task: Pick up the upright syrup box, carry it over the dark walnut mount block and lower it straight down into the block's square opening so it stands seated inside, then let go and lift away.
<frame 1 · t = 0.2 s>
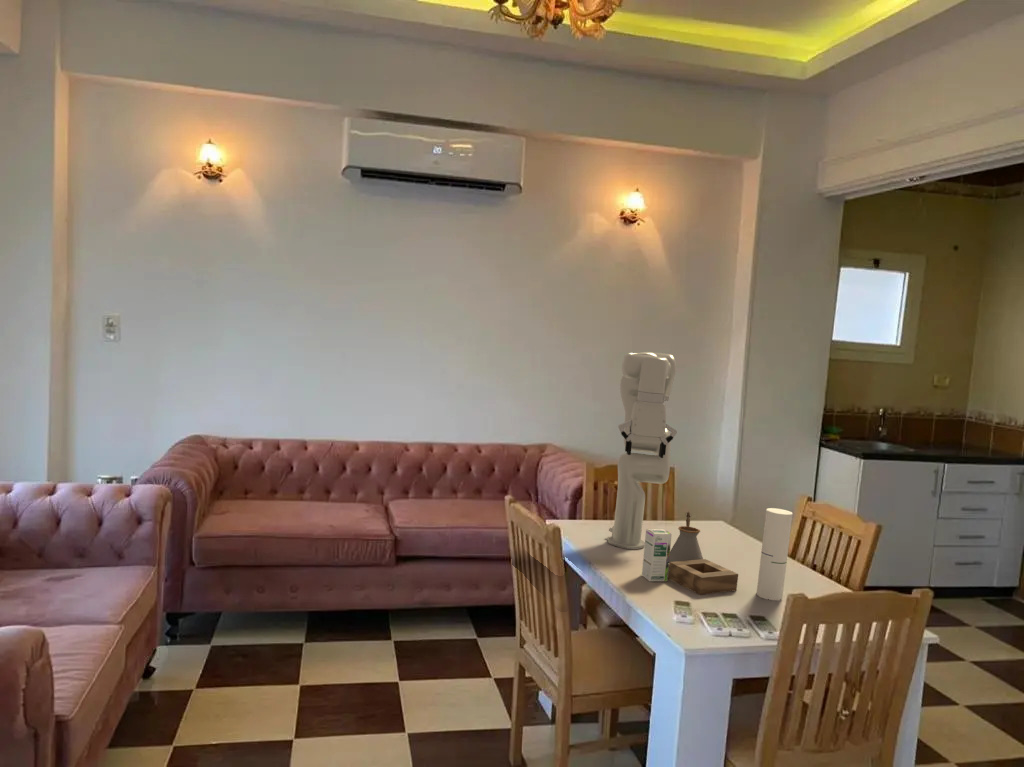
hand: (644, 455, 225), 36 cm above the table, tool pointing down, fingers open, 9 cm apart
mount block: (701, 584, 224), on the table
syrup box: (653, 579, 226), on the table
cylindrical container: (769, 596, 219), on the table
coffee pot: (684, 565, 243), on the table
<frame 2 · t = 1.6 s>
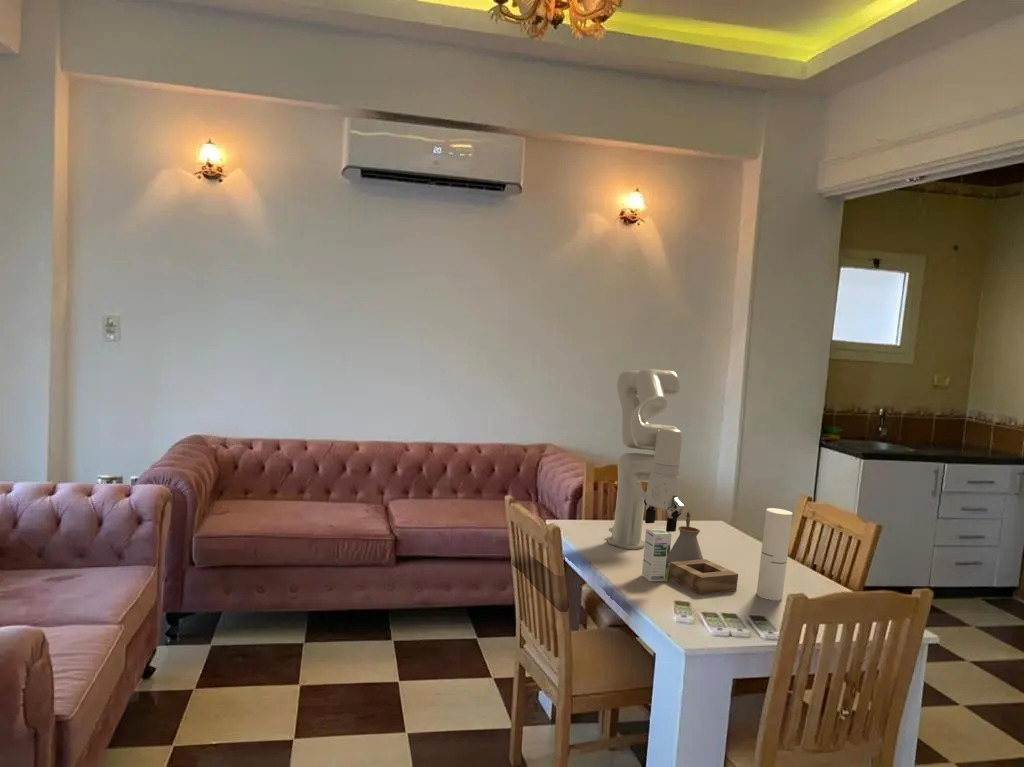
hand: (660, 527, 224), 16 cm above the table, tool pointing down, fingers open, 9 cm apart
nothing on the table moved.
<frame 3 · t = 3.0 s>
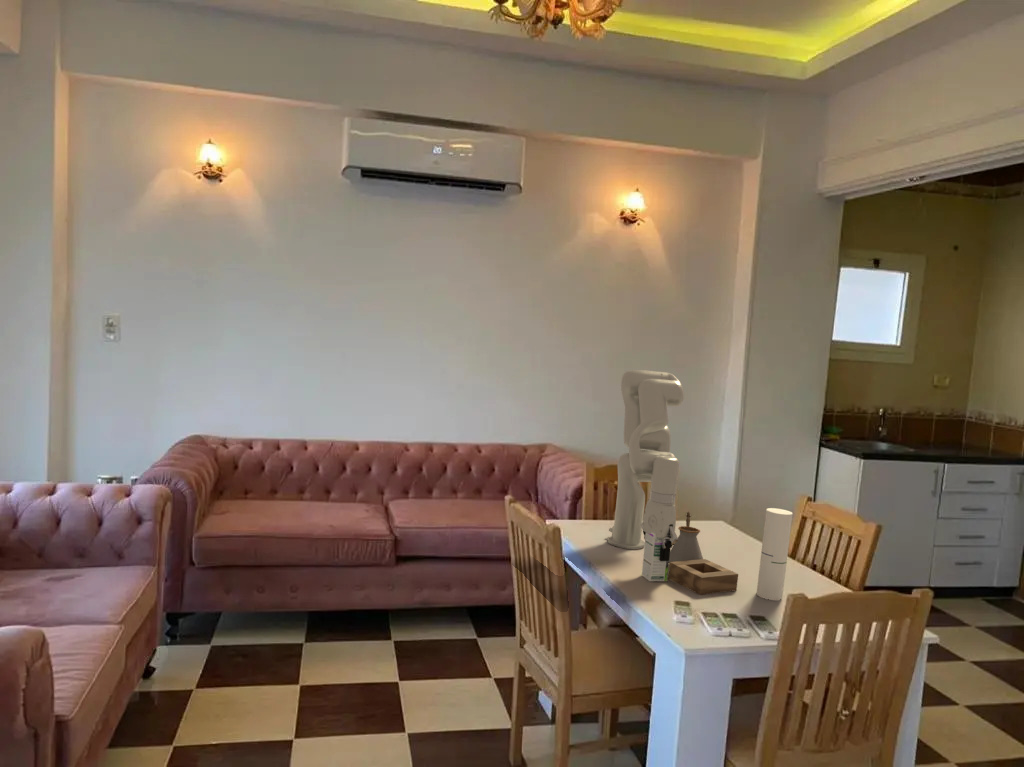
hand: (656, 556, 225), 7 cm above the table, tool pointing down, fingers closed on syrup box, 6 cm apart
syrup box: (653, 579, 226), on the table, touching gripper
everything else where it was.
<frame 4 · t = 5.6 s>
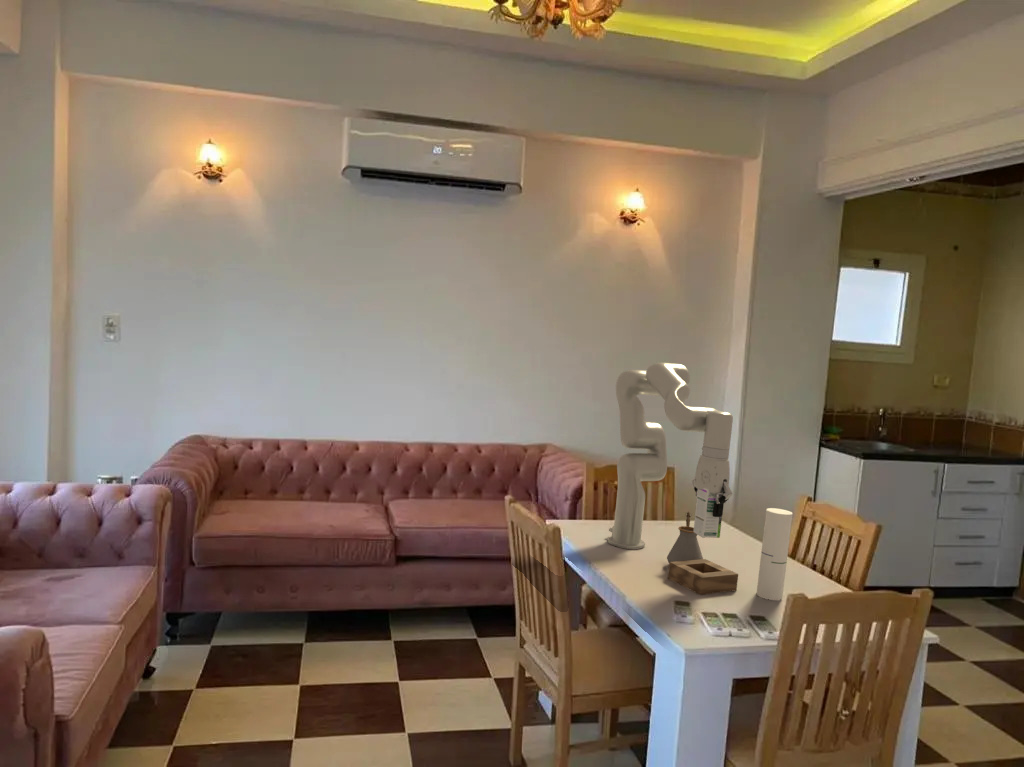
hand: (708, 512, 223), 22 cm above the table, tool pointing down, fingers closed on syrup box, 6 cm apart
syrup box: (706, 535, 223), point 15 cm above the table, touching gripper
everything else where it was.
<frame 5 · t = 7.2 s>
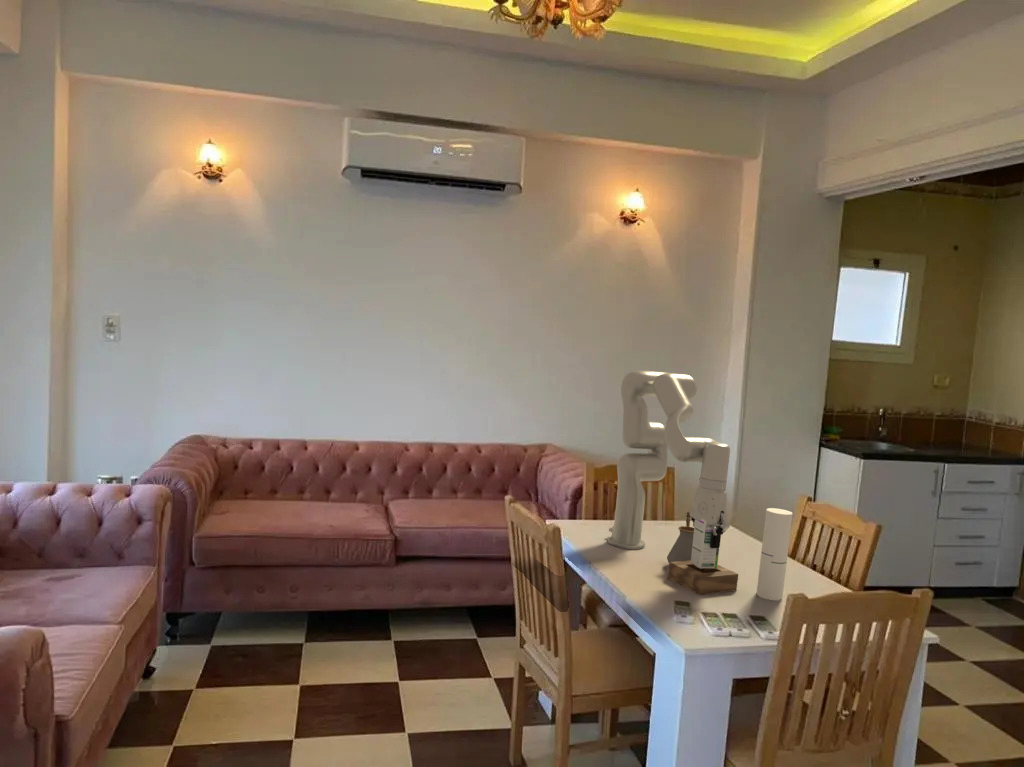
hand: (706, 543, 223), 12 cm above the table, tool pointing down, fingers closed on syrup box, 6 cm apart
syrup box: (703, 566, 224), point 5 cm above the table, touching gripper
everything else where it was.
when the fingers open (9 cm above the table, at t = 8.3 s): syrup box drops 1 cm, resting on mount block.
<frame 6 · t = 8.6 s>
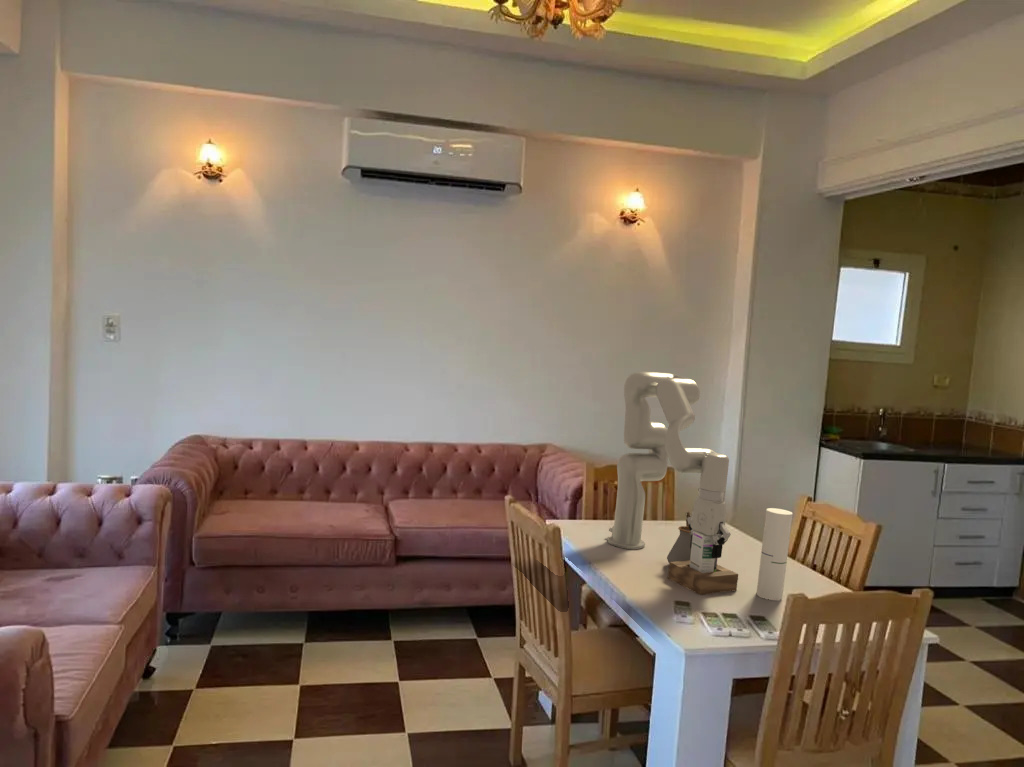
hand: (705, 552, 223), 10 cm above the table, tool pointing down, fingers open, 8 cm apart
syrup box: (701, 581, 224), point 1 cm above the table, touching mount block
everything else where it was.
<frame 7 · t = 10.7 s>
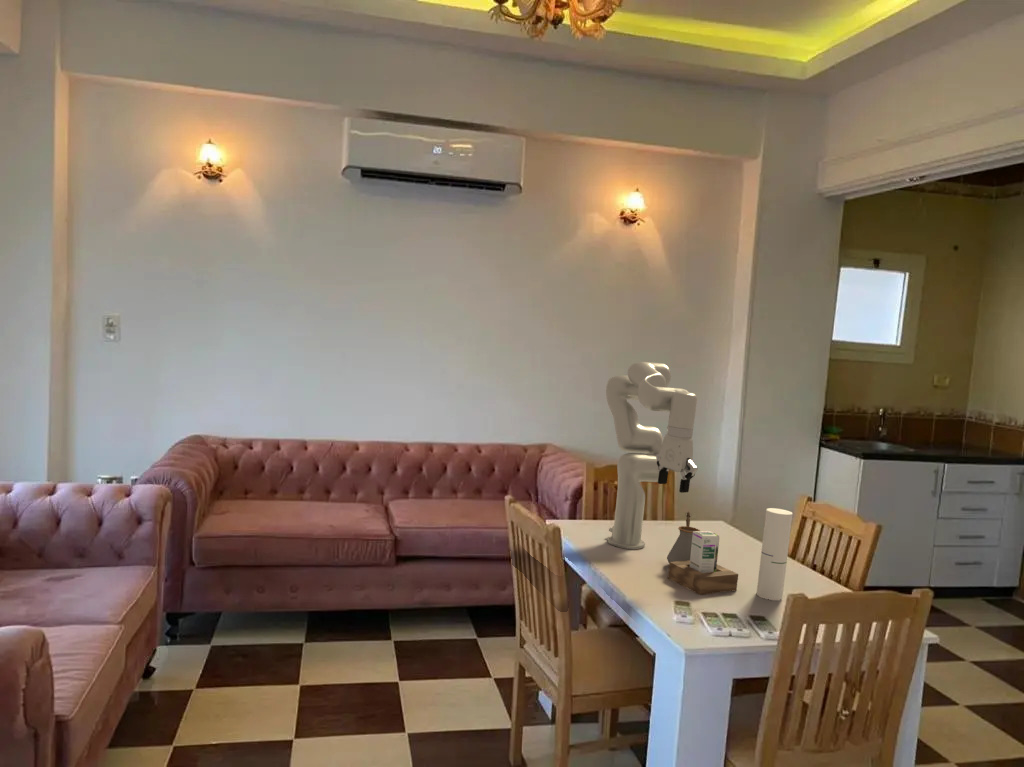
hand: (672, 487, 230), 26 cm above the table, tool pointing down, fingers open, 9 cm apart
nothing on the table moved.
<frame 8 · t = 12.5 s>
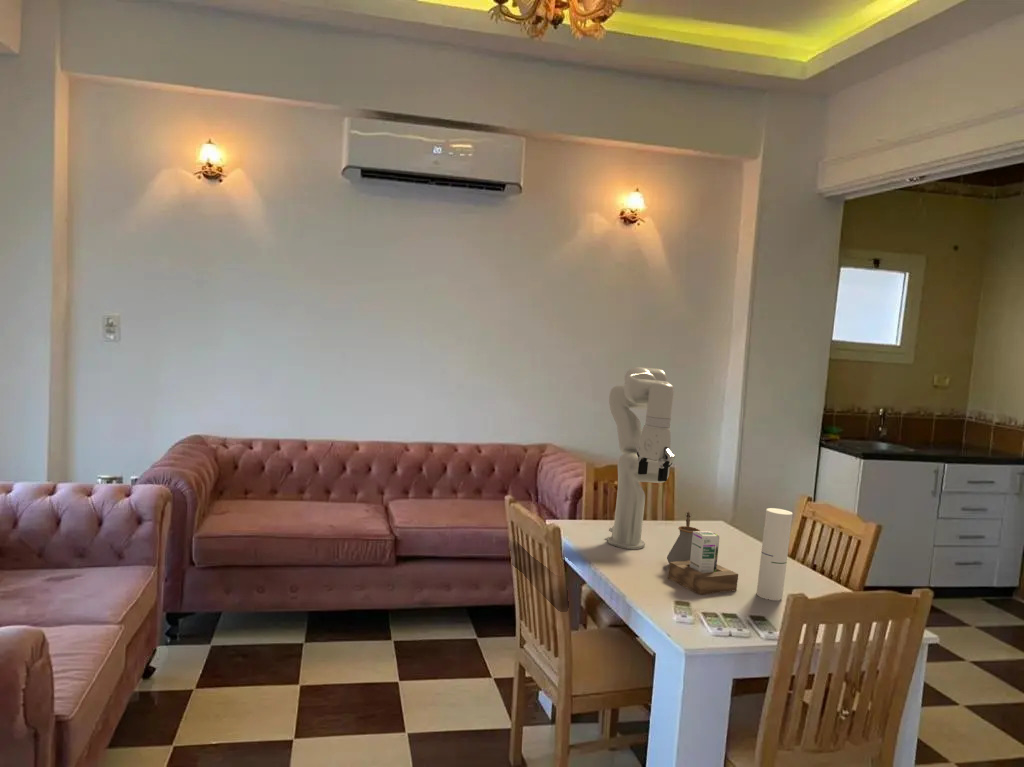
hand: (652, 477, 234), 28 cm above the table, tool pointing down, fingers open, 9 cm apart
nothing on the table moved.
at the end: syrup box 0.4 cm off-centre on the mount block, point 0.8 cm above the mount block's base; syrup box tilted 0°; the gripper is holding nothing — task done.
